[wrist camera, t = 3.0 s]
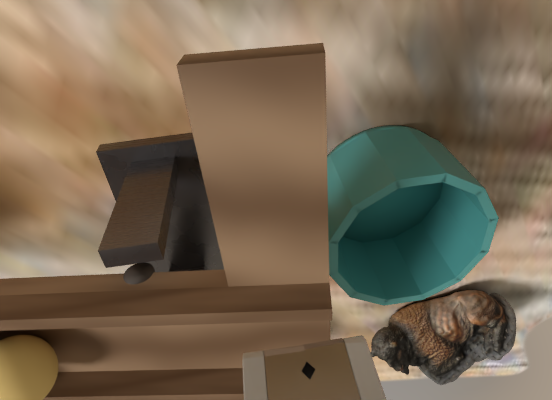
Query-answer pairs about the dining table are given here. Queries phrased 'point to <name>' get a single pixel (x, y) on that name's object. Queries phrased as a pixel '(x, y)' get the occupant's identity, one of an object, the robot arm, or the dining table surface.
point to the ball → (26, 368)
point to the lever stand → (158, 206)
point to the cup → (403, 216)
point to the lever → (232, 243)
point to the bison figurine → (447, 334)
